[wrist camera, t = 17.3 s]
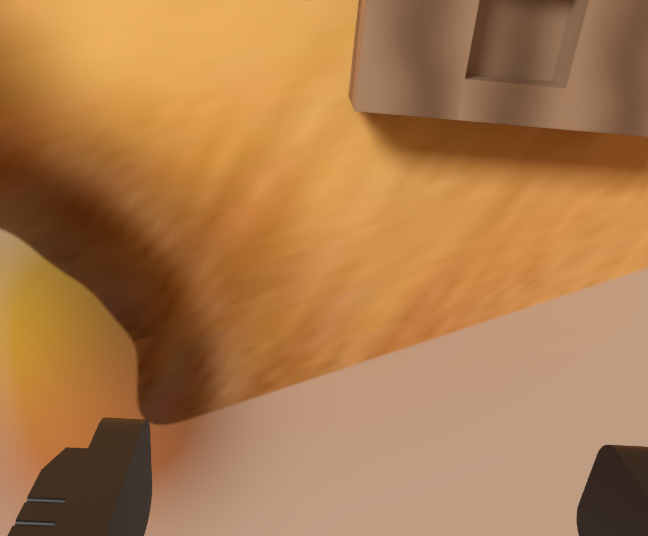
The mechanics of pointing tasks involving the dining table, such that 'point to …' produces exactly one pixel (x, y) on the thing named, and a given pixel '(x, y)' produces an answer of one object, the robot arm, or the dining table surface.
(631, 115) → the brown recessed block
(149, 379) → the dining table surface
